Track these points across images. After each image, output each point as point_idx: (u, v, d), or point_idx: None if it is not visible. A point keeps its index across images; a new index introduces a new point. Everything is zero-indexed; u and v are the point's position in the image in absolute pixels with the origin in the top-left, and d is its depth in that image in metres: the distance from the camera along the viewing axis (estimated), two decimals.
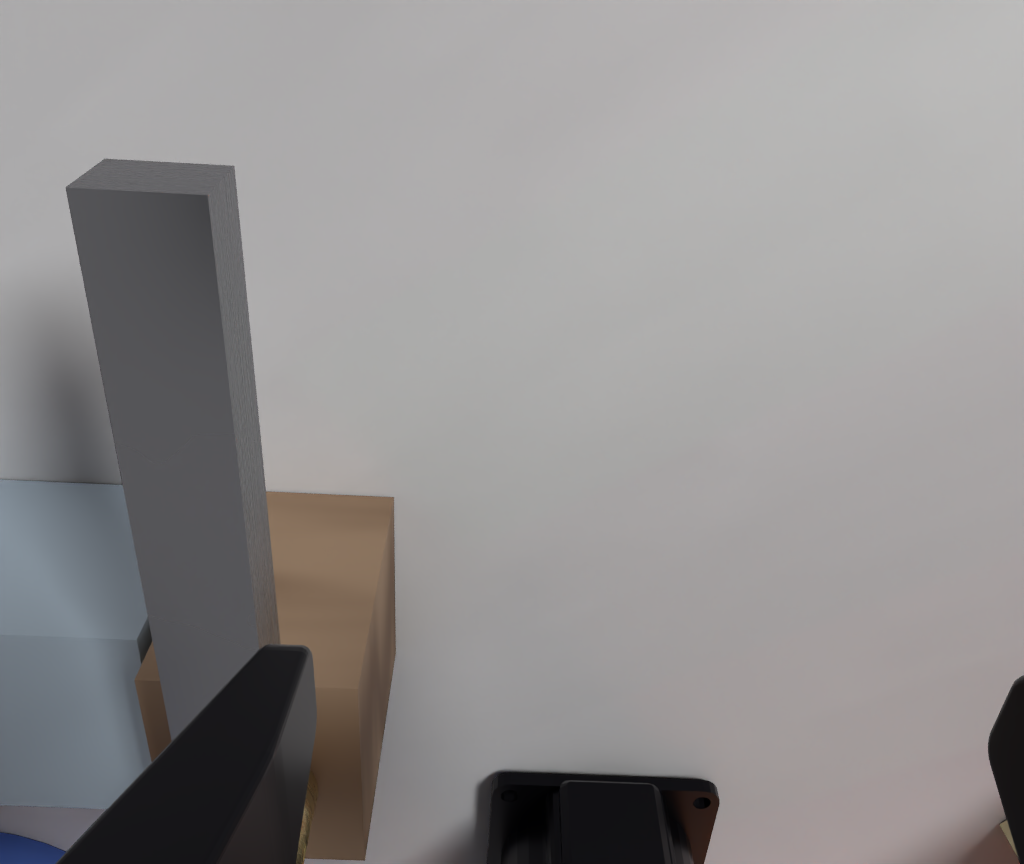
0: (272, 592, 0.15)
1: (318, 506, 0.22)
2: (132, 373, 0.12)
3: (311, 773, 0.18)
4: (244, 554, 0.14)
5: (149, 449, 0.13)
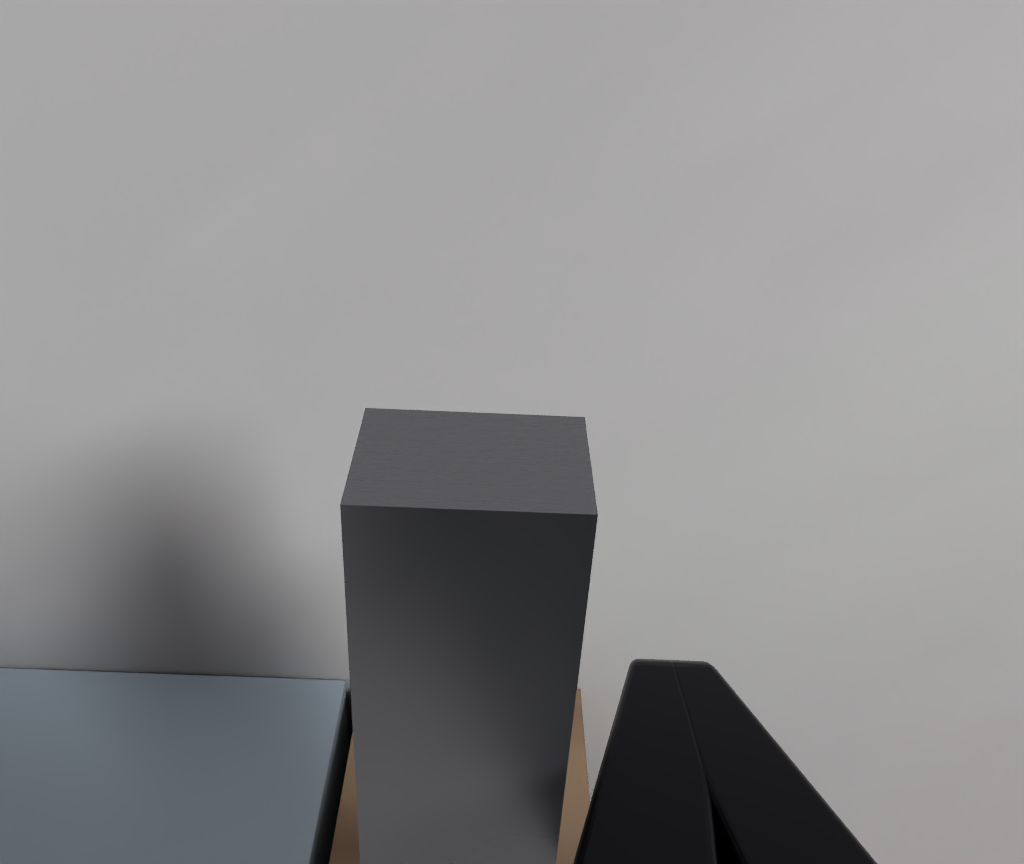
0: None
1: None
2: (407, 762, 0.07)
3: None
4: None
5: (415, 856, 0.08)
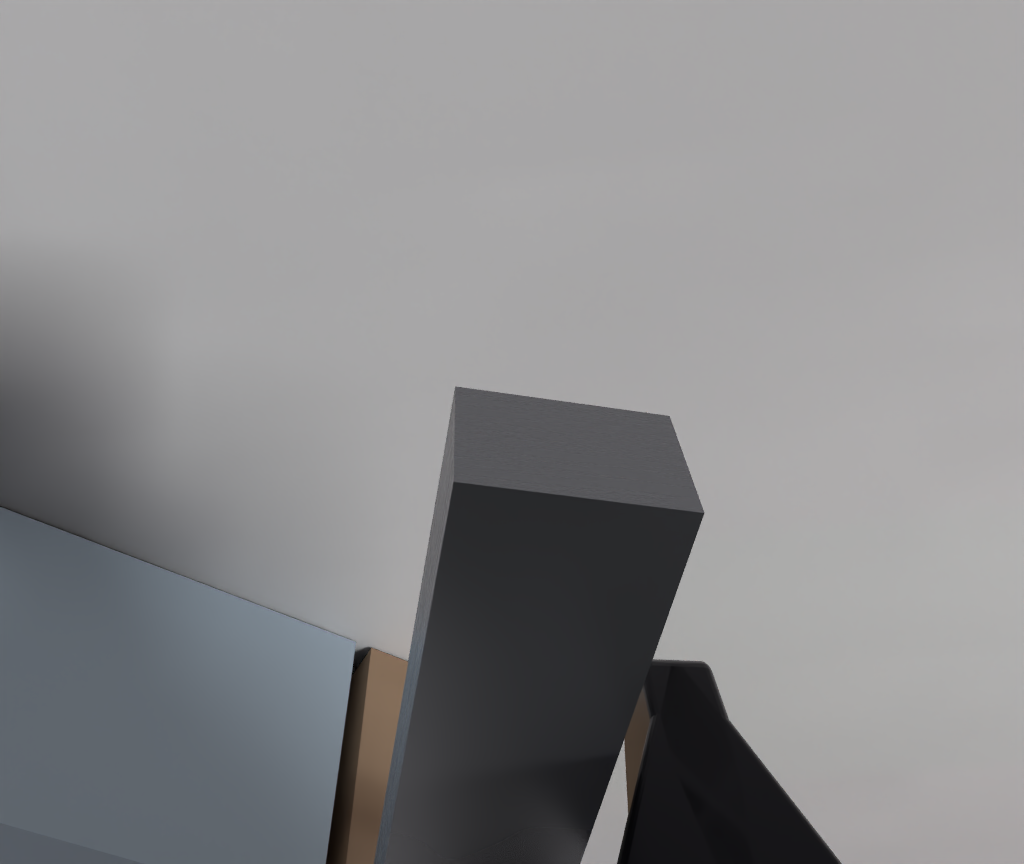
0: None
1: None
2: (459, 746, 0.07)
3: None
4: None
5: (445, 842, 0.08)
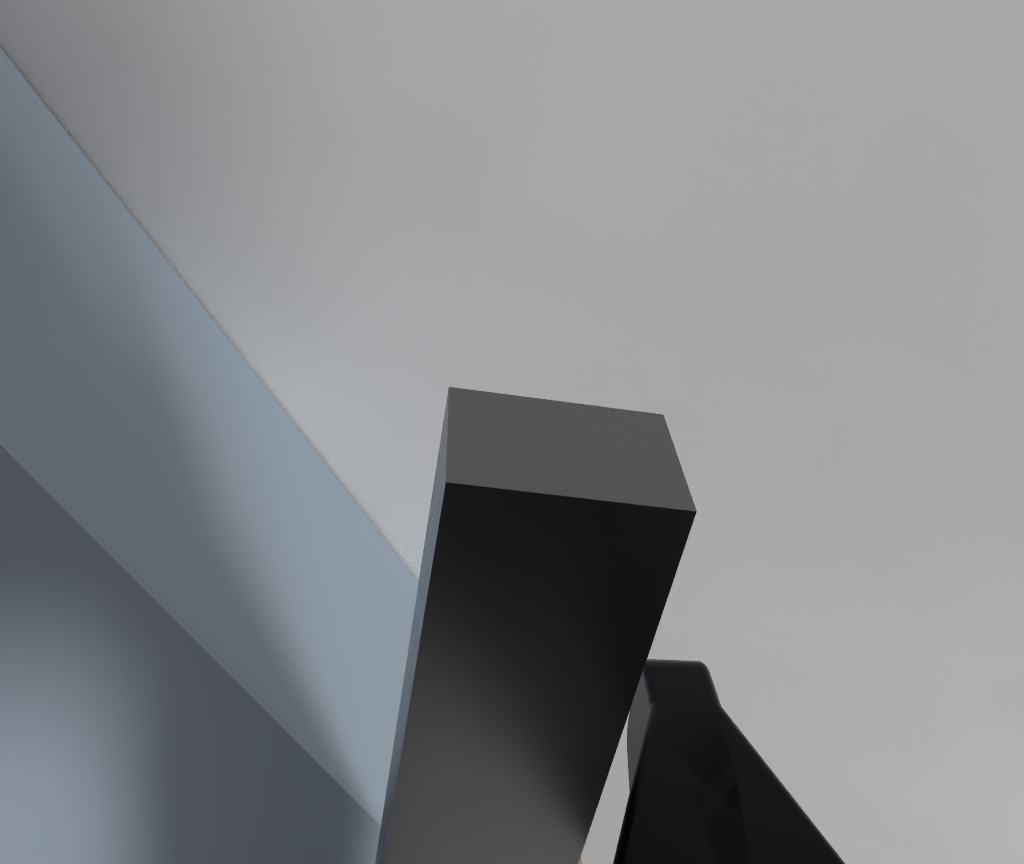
0: None
1: None
2: (456, 745, 0.07)
3: None
4: None
5: (443, 840, 0.08)
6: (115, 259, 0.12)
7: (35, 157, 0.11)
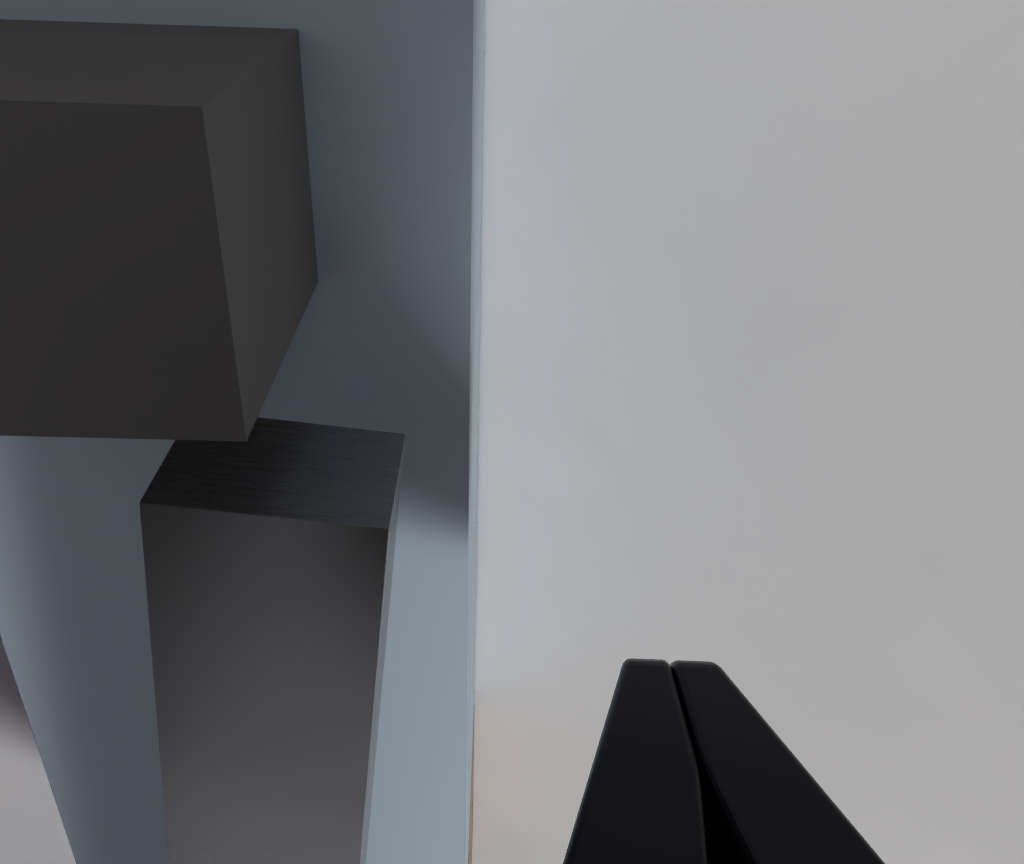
0: None
1: (472, 808, 0.19)
2: (211, 755, 0.07)
3: None
4: None
5: (221, 848, 0.08)
6: (479, 274, 0.12)
7: (481, 162, 0.11)
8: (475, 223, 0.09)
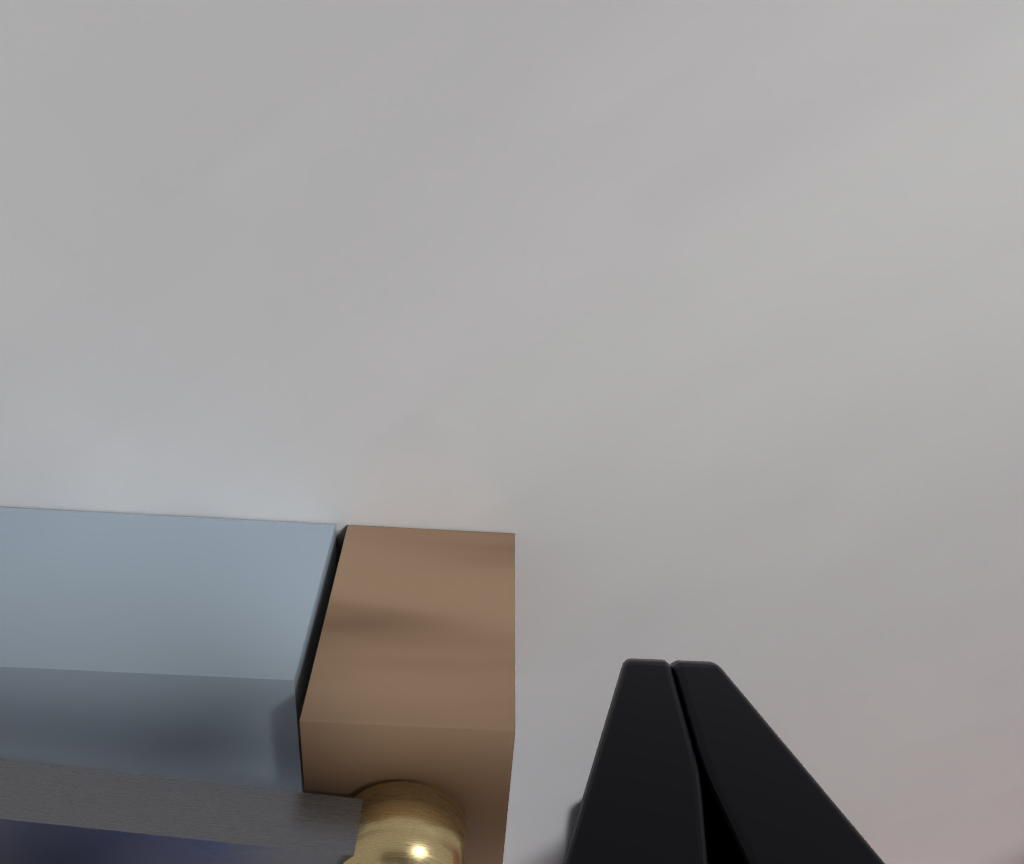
0: (128, 781, 0.17)
1: (443, 542, 0.22)
2: None
3: (387, 784, 0.18)
4: (20, 820, 0.17)
5: None
6: None
7: None
8: None
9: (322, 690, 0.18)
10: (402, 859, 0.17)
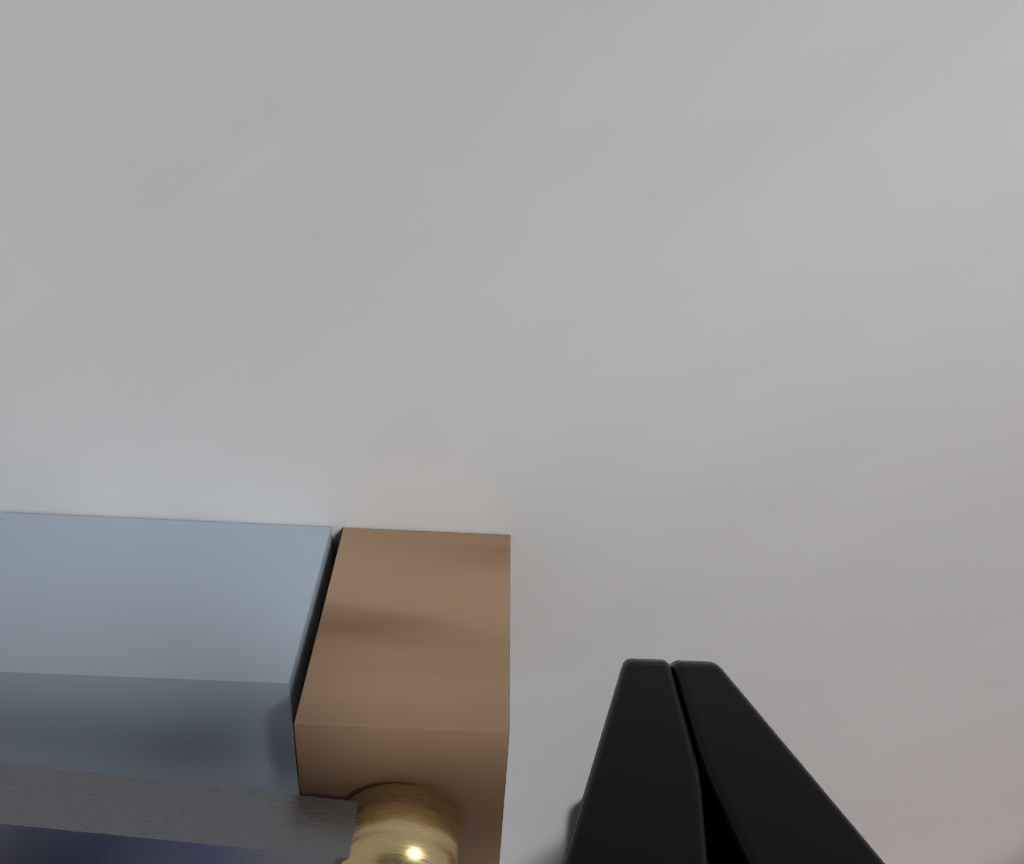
0: (124, 785, 0.18)
1: (439, 544, 0.22)
2: None
3: (382, 786, 0.18)
4: (16, 824, 0.17)
5: None
6: None
7: None
8: None
9: (317, 693, 0.18)
10: (397, 861, 0.17)
